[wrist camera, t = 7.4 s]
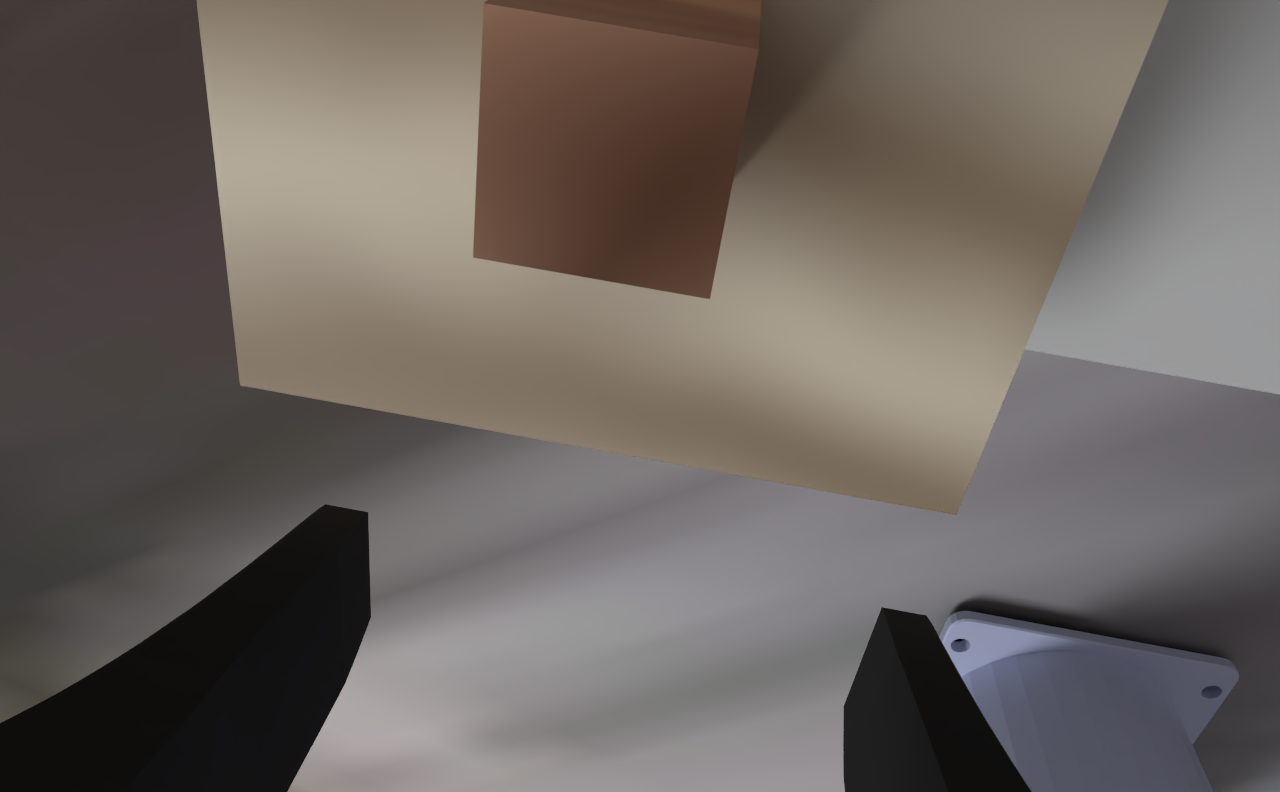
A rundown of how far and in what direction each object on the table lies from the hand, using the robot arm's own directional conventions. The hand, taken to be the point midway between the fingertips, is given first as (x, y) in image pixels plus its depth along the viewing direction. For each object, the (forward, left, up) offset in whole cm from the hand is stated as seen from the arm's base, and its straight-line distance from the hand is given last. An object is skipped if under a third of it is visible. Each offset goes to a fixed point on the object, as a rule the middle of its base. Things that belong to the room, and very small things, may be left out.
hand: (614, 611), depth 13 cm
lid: (+6, +1, -6) cm, 8 cm away
